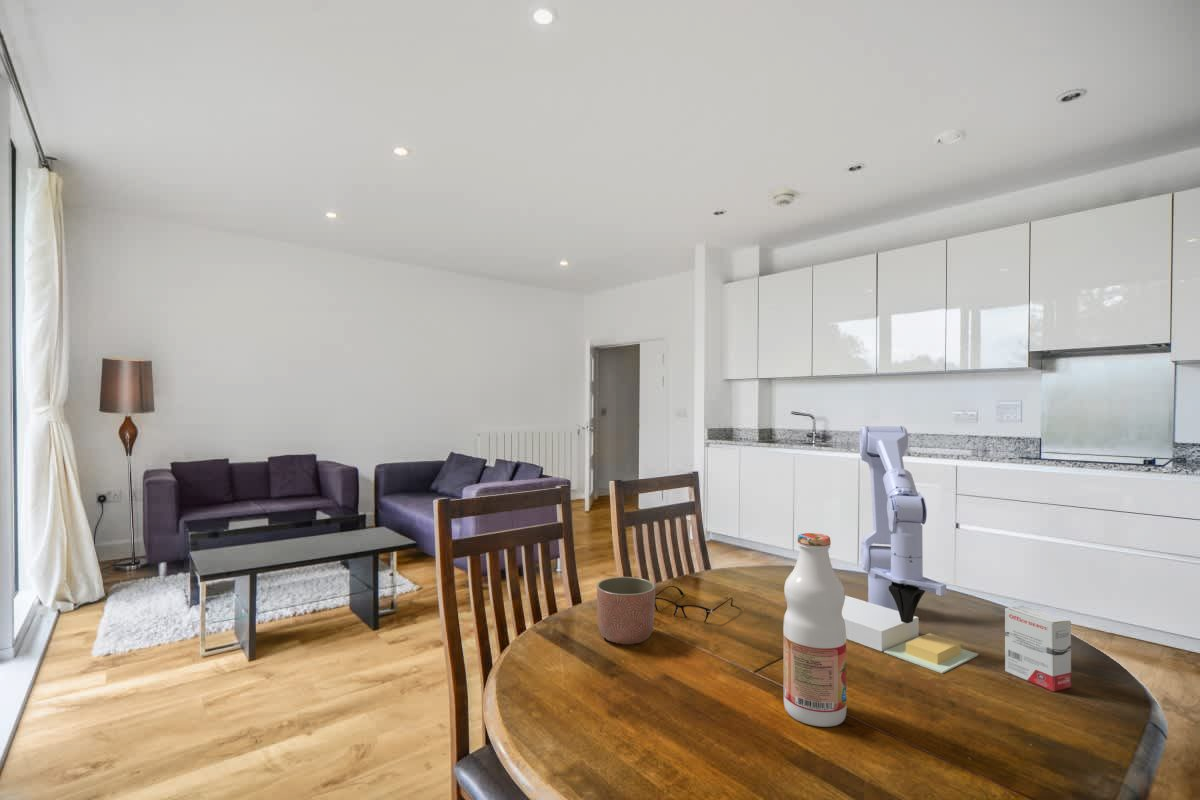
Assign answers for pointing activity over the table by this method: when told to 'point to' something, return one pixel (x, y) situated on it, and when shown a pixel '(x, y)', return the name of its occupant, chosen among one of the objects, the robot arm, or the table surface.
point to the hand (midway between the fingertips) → (906, 621)
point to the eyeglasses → (688, 605)
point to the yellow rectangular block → (933, 648)
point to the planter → (626, 609)
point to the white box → (876, 625)
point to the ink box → (1038, 647)
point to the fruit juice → (814, 637)
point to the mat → (941, 668)
